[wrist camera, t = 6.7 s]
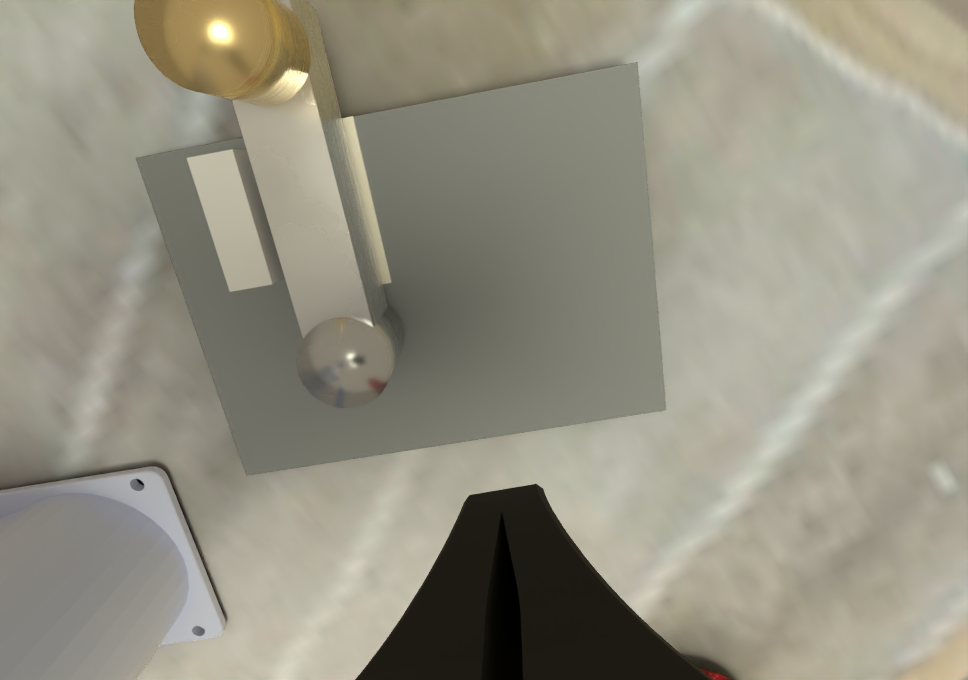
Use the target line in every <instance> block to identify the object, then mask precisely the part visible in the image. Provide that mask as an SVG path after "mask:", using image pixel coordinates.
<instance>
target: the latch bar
mask: <svg viewBox="0 0 968 680" xmlns="http://www.w3.org/2000/svg"><path fill="white" fill-rule="evenodd" d="M134 18H135V24H136V29H137V33H138V36H139V39H140V41H141V44H142V46H143V48H144V50H145V52H146V54H147V55H148V57H149V58H150V60H151V61H152V62H153V64H154V65H155V66H156V67H157V68H158V69H159V70H160V71H161V72H162V73H163V74H164V75H165V76H166V77H167V78H169V79H170V80H171V81H173V82H175V83H176V84H178V85H180V86H182V87H184V88H187V89H189V90H193V91H196V92H201V93H205V94H210V95H214V96H219V97H223V98H227V99H232V102H233V105H234V109H235V112H236V115H237V119H238V122H239V125H240V129H241V132H242V135H243V139H244V142H245V146H246V149H247V152H248V156H249V159H250V162H251V166H252V169H253V172H254V176H255V179H256V182H257V186H258V189H259V193H260V196H261V199H262V203H263V206H264V209H265V213H266V216H267V219H268V223H269V226H270V229H271V233H272V236H273V240H274V243H275V246H276V250H277V253H278V256H279V260H280V263H281V266H282V270H283V273H284V276H285V280H286V283H287V287H288V290H289V293H290V297H291V300H292V303H293V307H294V310H295V313H296V317H297V320H298V323H299V327H300V330H301V334H302V337H303V340H302V341H301V343H300V345H299V348H298V351H297V356H296V365H297V371H298V375H299V377H300V380H301V381H302V383H303V385H304V386H305V388H306V389H307V390H308V391H309V393H310V394H312V395H313V396H314V397H315V398H316V399H318V400H319V401H321V402H323V403H325V404H327V405H330V406H333V407H337V408H345V409H350V408H357V407H361V406H364V405H367V404H368V403H370V402H372V401H373V400H375V399H376V398H377V397H378V396H379V395H380V394H381V393H382V392H383V391H384V389H385V387H386V386H387V383H388V381H389V379H390V376H391V374H392V372H393V369H394V367H395V365H396V362H397V360H398V358H399V356H400V353H401V351H402V348H403V345H404V329H403V325H402V322H401V320H400V318H399V317H398V315H397V314H396V312H395V311H394V310H393V309H392V308H391V307H390V306H389V305H387V300H386V296H385V292H384V288H383V284H382V280H381V276H380V272H379V268H378V264H377V260H376V255H375V251H374V247H373V243H372V239H371V235H370V231H369V227H368V223H367V219H366V214H365V210H364V206H363V202H362V198H361V194H360V190H359V186H358V182H357V178H356V174H355V169H354V165H353V161H352V157H351V153H350V149H349V145H348V141H347V137H346V133H345V129H344V124H343V120H342V116H341V112H340V108H339V104H338V100H337V96H336V92H335V88H334V83H333V79H332V75H331V71H330V67H329V63H328V59H327V55H326V51H325V47H324V43H323V38H322V34H321V30H320V26H319V22H318V18H317V14H316V10H315V9H314V8H313V7H312V6H311V5H310V4H308V3H307V2H306V1H305V0H135V3H134Z"/></svg>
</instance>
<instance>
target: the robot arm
mask: <svg viewBox="0 0 968 680" xmlns="http://www.w3.org/2000/svg"><path fill="white" fill-rule="evenodd" d="M137 479H139V480H141V481H142V482H143V483H144V485H141V484H139V483H138V481H137ZM199 626H200V627H199ZM201 627H202V628H201ZM225 627H226V621H225V618H224V616H223V613H222V611H221V608H220V606H219V603H218V601H217V598H216V596H215V593H214V591H213V588H212V586H211V583H210V581H209V578H208V576H207V573H206V571H205V568H204V566H203V563H202V561H201V558H200V556H199V553H198V550H197V548H196V545H195V543H194V540H193V538H192V535H191V533H190V530H189V528H188V525H187V523H186V520H185V518H184V515H183V513H182V510H181V508H180V505H179V503H178V500H177V498H176V495H175V493H174V490H173V488H172V485H171V483H170V480H169V478H168V476H167V474H166V472H165V471H164V470H162V469H161V468H158V467H153V466H150V467H144V468H138V469H131V470H125V471H119V472H112V473H106V474H100V475H93V476H87V477H81V478H75V479H68V480H62V481H56V482H49V483H43V484H37V485H30V486H24V487H18V488H11V489H5V490H0V680H137V678H138V677H139V675H140V674H141V672H142V671H143V669H144V668H145V666H146V665H147V663H148V662H149V660H150V659H151V657H152V656H153V654H154V653H155V651H156V650H157V648H158V647H159V646H160V645H167V644H175V643H182V642H189V641H196V640H203V639H210V638H216V637H219V636H220V635H221V634H222V633H223V631H224V629H225ZM355 680H713V679H712V678H710V677H709V676H708V675H707V674H705V673H704V672H703V671H701V670H700V669H699V668H698V667H696V666H695V665H694V664H692V663H691V662H690V661H689V660H687V659H686V658H685V657H683V656H682V655H681V654H680V653H679V652H678V651H676V650H675V649H674V648H673V647H672V646H671V645H670V644H669V643H667V642H666V641H665V640H664V639H663V638H662V637H661V636H660V635H658V634H657V633H656V632H655V631H654V630H653V629H652V628H651V627H650V626H649V625H648V624H647V623H646V622H644V621H643V620H642V619H641V618H640V617H639V616H638V615H637V614H636V613H635V612H634V611H633V610H632V609H631V608H630V607H629V606H628V605H627V604H626V603H625V602H624V601H623V600H622V599H621V598H620V597H619V596H618V594H617V593H616V592H615V591H614V590H613V589H612V588H611V587H610V586H609V585H608V583H607V582H606V581H605V580H604V579H603V578H602V577H601V575H600V574H599V573H598V572H597V571H596V570H595V569H594V567H593V566H592V565H591V564H590V562H589V561H588V560H587V559H586V558H585V556H584V555H583V554H582V552H581V551H580V550H579V548H578V547H577V546H576V544H575V543H574V542H573V540H572V539H571V538H570V536H569V535H568V533H567V532H566V531H565V529H564V528H563V526H562V525H561V523H560V521H559V520H558V518H557V517H556V515H555V513H554V512H553V510H552V508H551V506H550V504H549V502H548V500H547V498H546V496H545V493H544V490H543V488H541V487H540V486H538V485H537V484H533V485H527V486H521V487H515V488H509V489H504V490H498V491H492V492H486V493H480V494H474V495H469V497H468V498H467V499H466V501H465V502H464V504H463V507H462V509H461V511H460V514H459V516H458V518H457V520H456V522H455V525H454V527H453V529H452V531H451V533H450V535H449V537H448V539H447V541H446V543H445V545H444V547H443V549H442V550H441V552H440V554H439V556H438V558H437V560H436V561H435V563H434V565H433V567H432V569H431V571H430V572H429V574H428V576H427V578H426V579H425V581H424V583H423V584H422V586H421V588H420V589H419V591H418V592H417V594H416V595H415V597H414V599H413V600H412V602H411V603H410V605H409V607H408V608H407V610H406V611H405V613H404V615H403V616H402V618H401V619H400V621H399V622H398V624H397V625H396V626H395V628H394V629H393V631H392V632H391V634H390V635H389V637H388V638H387V639H386V641H385V642H384V643H383V645H382V646H381V648H380V649H379V650H378V651H377V653H376V654H375V655H374V657H373V658H372V659H371V661H370V662H369V663H368V665H367V666H366V667H365V668H364V670H363V671H362V672H361V674H360V675H359V676H358V677H357V678H356V679H355Z"/></svg>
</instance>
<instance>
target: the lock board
mask: <svg viewBox="0 0 968 680" xmlns="http://www.w3.org/2000/svg"><path fill="white" fill-rule="evenodd" d="M342 120H343V124H344V129H345V133H346V137H347V141H348V145H349V149H350V153H351V157H352V161H353V165H354V169H355V174H356V178H357V182H358V186H359V190H360V194H361V198H362V202H363V206H364V210H365V214H366V219H367V223H368V227H369V231H370V235H371V239H372V243H373V247H374V251H375V255H376V260H377V264H378V268H379V272H380V276H381V280H382V284H383V288H384V292H385V296H386V300H387V305H389V306H390V307H391V308H392V309H393V310H394V311H395V312H396V314H397V315H398V317H399V318H400V320H401V322H402V325H403V329H404V345H403V348H402V351H401V353H400V356H399V358H398V360H397V362H396V365H395V367H394V369H393V372H392V374H391V376H390V379H389V381H388V383H387V386H386V387H385V389H384V391H383V392H382V393H381V394H380V395H379V396H378V397H377V398H376V399H375V400H373V401H372V402H370V403H368V404H367V405H364V406H361V407H357V408H350V409H345V408H337V407H333V406H330V405H327V404H325V403H323V402H321V401H319V400H318V399H316V398H315V397H314V396H313V395H312V394H310V393H309V391H308V390H307V389H306V388H305V386H304V385H303V383H302V381H301V380H300V377H299V375H298V371H297V365H296V356H297V351H298V348H299V345H300V343H301V341H302V340H303V337H302V334H301V330H300V327H299V323H298V320H297V317H296V313H295V310H294V307H293V303H292V300H291V297H290V293H289V290H288V287H287V283H286V280H285V276H284V273H283V270H282V266H281V263H280V260H279V256H278V253H277V250H276V246H275V243H274V240H273V236H272V233H271V229H270V226H269V223H268V219H267V216H266V213H265V209H264V206H263V203H262V199H261V196H260V193H259V189H258V186H257V182H256V179H255V176H254V172H253V169H252V166H251V162H250V159H249V156H248V152H247V149H246V146H245V142H244V139H243V138H238V139H233V140H227V141H222V142H217V143H212V144H207V145H201V146H196V147H191V148H186V149H180V150H175V151H170V152H165V153H159V154H154V155H149V156H144V157H139V158H136V160H137V163H138V166H139V169H140V172H141V175H142V178H143V180H144V183H145V186H146V189H147V192H148V195H149V198H150V201H151V203H152V206H153V209H154V212H155V215H156V218H157V221H158V223H159V226H160V229H161V232H162V235H163V238H164V241H165V243H166V246H167V249H168V252H169V255H170V258H171V261H172V264H173V266H174V269H175V272H176V275H177V278H178V281H179V284H180V286H181V289H182V292H183V295H184V298H185V301H186V304H187V306H188V309H189V312H190V315H191V318H192V321H193V324H194V326H195V329H196V332H197V335H198V338H199V341H200V344H201V347H202V349H203V352H204V355H205V358H206V361H207V364H208V367H209V369H210V372H211V375H212V378H213V381H214V384H215V387H216V389H217V392H218V395H219V398H220V401H221V404H222V407H223V410H224V412H225V415H226V418H227V421H228V424H229V427H230V430H231V432H232V435H233V438H234V441H235V444H236V447H237V450H238V452H239V455H240V458H241V461H242V464H243V467H244V470H245V472H246V475H254V474H260V473H266V472H273V471H279V470H286V469H292V468H298V467H305V466H311V465H318V464H324V463H331V462H337V461H343V460H350V459H356V458H363V457H369V456H375V455H382V454H388V453H395V452H401V451H407V450H414V449H420V448H427V447H433V446H439V445H446V444H452V443H459V442H465V441H472V440H478V439H484V438H491V437H497V436H504V435H510V434H516V433H523V432H529V431H536V430H542V429H548V428H555V427H561V426H568V425H574V424H580V423H587V422H593V421H600V420H606V419H613V418H619V417H625V416H632V415H638V414H645V413H651V412H657V411H664V410H666V402H665V390H664V378H663V366H662V353H661V341H660V329H659V317H658V305H657V293H656V281H655V269H654V256H653V244H652V232H651V220H650V208H649V196H648V184H647V172H646V159H645V147H644V135H643V123H642V111H641V99H640V87H639V75H638V62H636V63H630V64H625V65H620V66H615V67H609V68H604V69H599V70H594V71H588V72H583V73H578V74H573V75H568V76H562V77H557V78H552V79H547V80H541V81H536V82H531V83H526V84H520V85H515V86H510V87H505V88H500V89H494V90H489V91H484V92H479V93H473V94H468V95H463V96H458V97H452V98H447V99H442V100H437V101H431V102H426V103H421V104H416V105H411V106H405V107H400V108H395V109H390V110H384V111H379V112H374V113H369V114H363V115H358V116H351V117H346V118H342Z"/></svg>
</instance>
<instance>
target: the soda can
mask: <svg viewBox="0 0 968 680" xmlns="http://www.w3.org/2000/svg"><path fill="white" fill-rule="evenodd" d="M700 670H701V671H703V672H704V673H705V674H707V675H708V676H709V677H710V678H712V679H713V680H731V679H729V678H727V677H725V676H723V675H720V674H718V673H715V672H711V671H708V670H702V669H700Z"/></svg>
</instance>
